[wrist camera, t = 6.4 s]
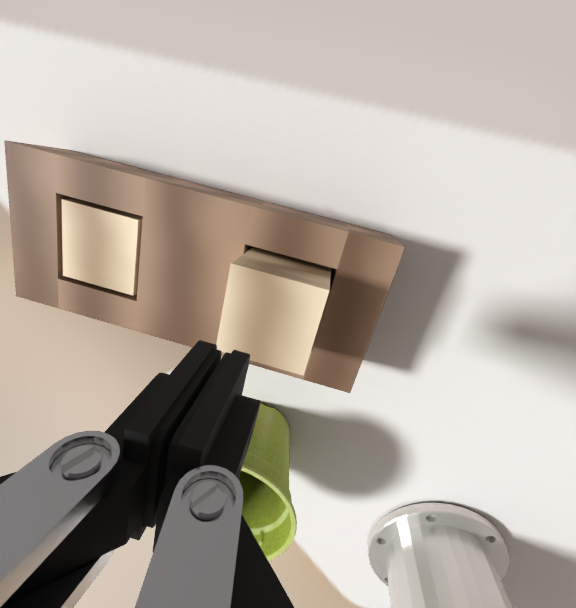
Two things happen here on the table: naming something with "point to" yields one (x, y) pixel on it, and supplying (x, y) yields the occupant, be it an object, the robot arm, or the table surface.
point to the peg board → (192, 254)
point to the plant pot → (268, 484)
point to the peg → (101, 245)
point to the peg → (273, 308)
